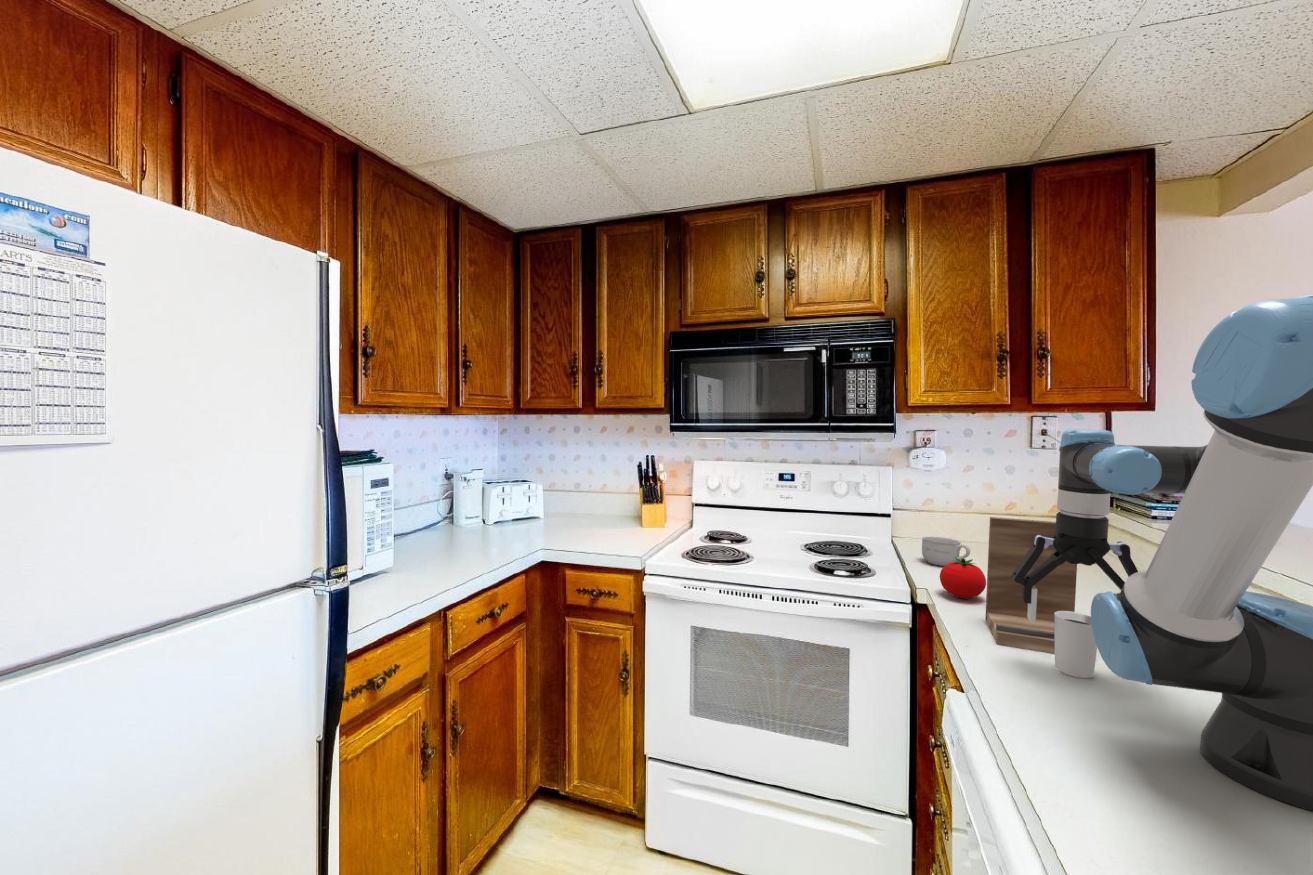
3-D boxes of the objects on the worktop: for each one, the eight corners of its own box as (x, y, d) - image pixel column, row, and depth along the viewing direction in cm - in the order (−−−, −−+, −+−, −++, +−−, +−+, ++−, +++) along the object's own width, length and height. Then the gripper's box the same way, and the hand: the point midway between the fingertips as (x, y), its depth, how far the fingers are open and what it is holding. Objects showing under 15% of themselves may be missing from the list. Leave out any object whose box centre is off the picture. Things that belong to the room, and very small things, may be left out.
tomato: (929, 592, 140) (931, 555, 140) (958, 588, 144) (960, 552, 143) (965, 606, 130) (966, 566, 130) (995, 601, 134) (996, 562, 134)
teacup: (913, 561, 170) (914, 536, 170) (936, 557, 175) (937, 533, 174) (953, 573, 157) (954, 546, 157) (977, 569, 162) (978, 543, 162)
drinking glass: (1105, 675, 97) (1108, 622, 96) (1082, 682, 94) (1085, 627, 94) (1065, 659, 103) (1068, 609, 102) (1043, 665, 101) (1045, 613, 100)
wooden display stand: (1093, 659, 103) (1100, 537, 102) (997, 644, 109) (1002, 529, 108) (1070, 631, 116) (1076, 523, 115) (985, 619, 122) (989, 516, 121)
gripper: (1160, 515, 96) (1151, 629, 97) (998, 504, 106) (992, 608, 107) (1181, 524, 89) (1172, 647, 90) (1006, 511, 99) (1000, 622, 100)
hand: (1074, 626), depth 99 cm, fingers open, 13 cm apart
